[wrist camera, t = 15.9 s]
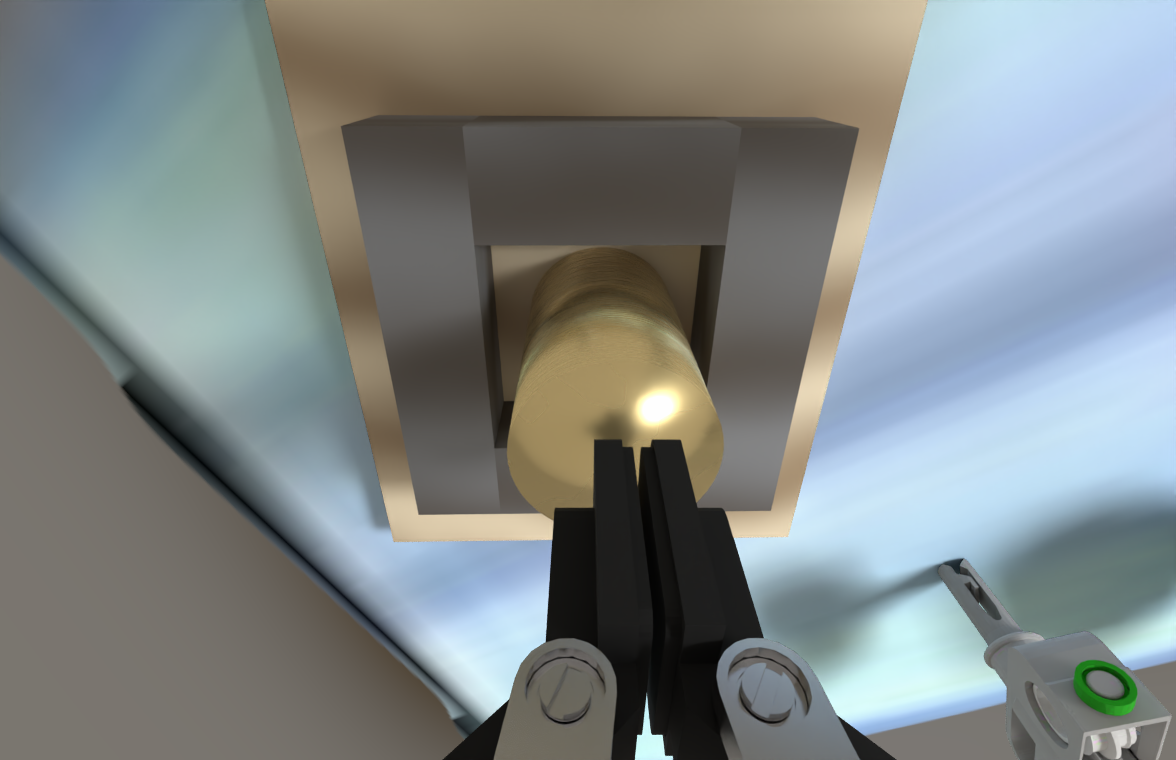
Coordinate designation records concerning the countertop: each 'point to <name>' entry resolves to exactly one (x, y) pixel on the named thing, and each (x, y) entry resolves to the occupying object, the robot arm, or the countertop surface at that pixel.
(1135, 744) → the mechanical component
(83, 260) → the countertop surface
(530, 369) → the tan cylinder
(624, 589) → the robot arm
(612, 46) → the jig plate
